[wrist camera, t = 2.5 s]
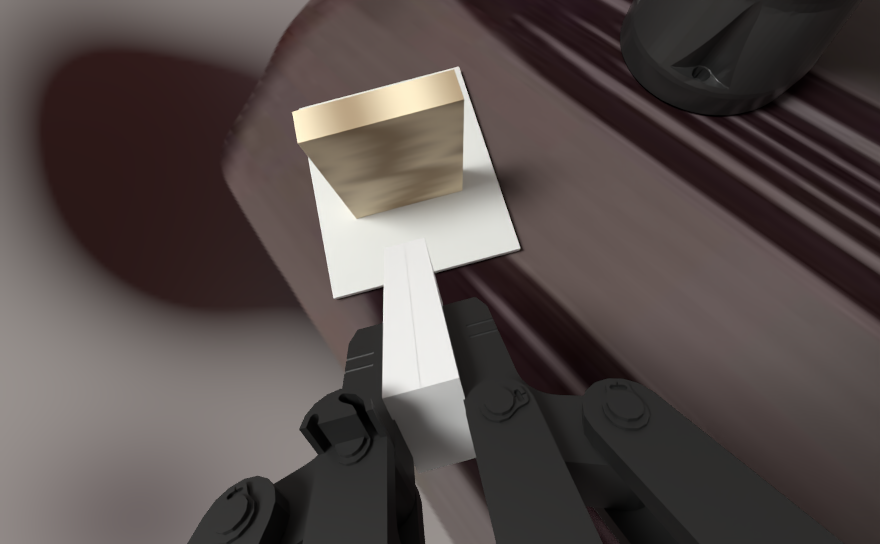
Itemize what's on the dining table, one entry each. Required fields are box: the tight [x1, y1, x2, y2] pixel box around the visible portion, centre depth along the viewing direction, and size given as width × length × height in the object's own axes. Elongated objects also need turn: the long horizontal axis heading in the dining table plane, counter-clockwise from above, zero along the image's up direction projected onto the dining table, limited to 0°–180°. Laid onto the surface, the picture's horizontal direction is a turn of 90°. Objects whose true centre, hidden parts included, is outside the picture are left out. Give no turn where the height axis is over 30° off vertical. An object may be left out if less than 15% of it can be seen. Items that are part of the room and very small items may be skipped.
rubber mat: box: [299, 67, 520, 299], centre depth 28 cm, size 15×18×1 cm
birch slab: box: [292, 69, 464, 219], centre depth 22 cm, size 9×2×10 cm, turn 105°
